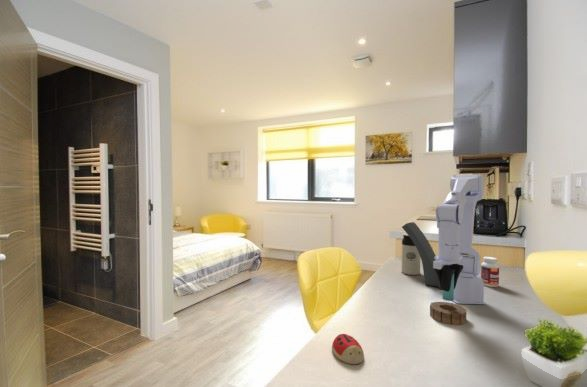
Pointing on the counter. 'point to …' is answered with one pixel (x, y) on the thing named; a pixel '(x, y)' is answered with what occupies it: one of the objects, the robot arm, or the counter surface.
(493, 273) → the pill bottle
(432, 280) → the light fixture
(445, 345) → the counter surface
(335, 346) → the ladybug figurine
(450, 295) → the capsule peg
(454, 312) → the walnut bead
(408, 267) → the travel mug
